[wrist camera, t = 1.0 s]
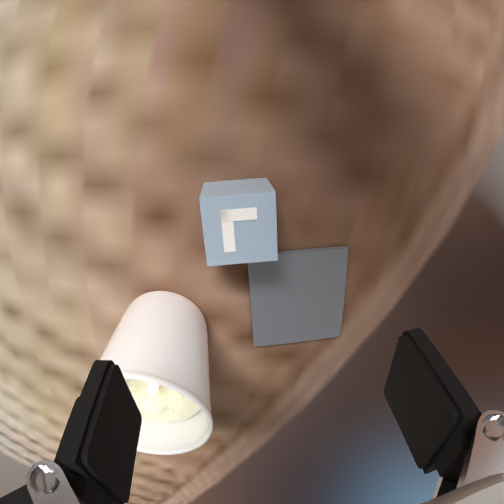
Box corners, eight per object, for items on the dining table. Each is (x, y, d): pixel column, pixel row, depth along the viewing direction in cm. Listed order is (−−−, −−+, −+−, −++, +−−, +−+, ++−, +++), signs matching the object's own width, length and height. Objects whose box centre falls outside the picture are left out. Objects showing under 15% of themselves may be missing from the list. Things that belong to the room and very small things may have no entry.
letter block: (204, 182, 25) (199, 197, 21) (266, 177, 26) (275, 191, 21) (210, 241, 27) (207, 268, 23) (269, 236, 28) (277, 263, 23)
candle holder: (136, 364, 32) (113, 453, 21) (105, 289, 28) (57, 376, 17) (223, 356, 33) (225, 453, 22) (203, 275, 29) (193, 371, 18)
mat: (246, 253, 28) (247, 256, 27) (346, 245, 28) (348, 248, 28) (253, 343, 32) (253, 346, 32) (338, 333, 32) (340, 336, 32)
